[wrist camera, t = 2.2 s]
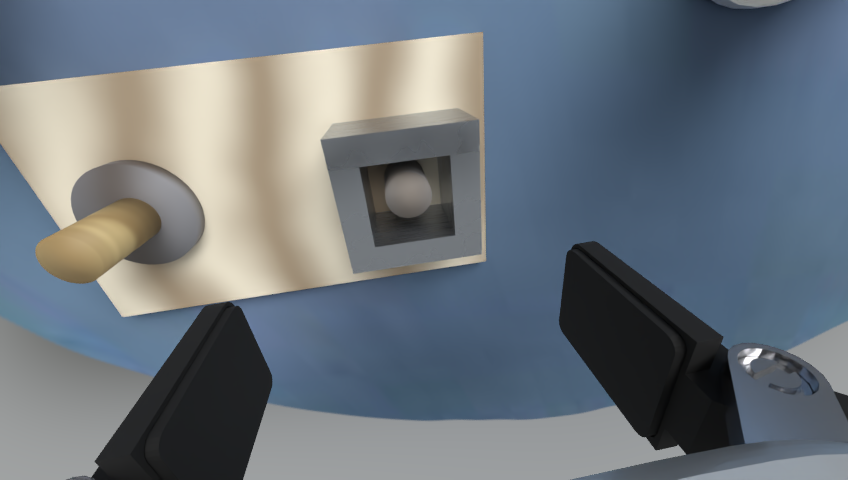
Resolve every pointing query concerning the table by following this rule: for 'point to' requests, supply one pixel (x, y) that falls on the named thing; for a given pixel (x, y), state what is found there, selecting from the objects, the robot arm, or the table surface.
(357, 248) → the collar
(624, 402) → the robot arm
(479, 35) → the stand board
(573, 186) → the table surface
